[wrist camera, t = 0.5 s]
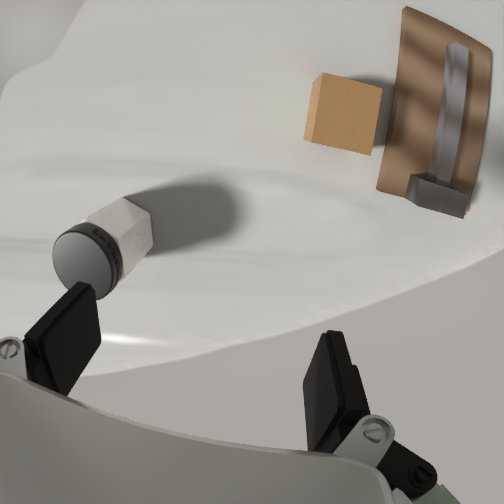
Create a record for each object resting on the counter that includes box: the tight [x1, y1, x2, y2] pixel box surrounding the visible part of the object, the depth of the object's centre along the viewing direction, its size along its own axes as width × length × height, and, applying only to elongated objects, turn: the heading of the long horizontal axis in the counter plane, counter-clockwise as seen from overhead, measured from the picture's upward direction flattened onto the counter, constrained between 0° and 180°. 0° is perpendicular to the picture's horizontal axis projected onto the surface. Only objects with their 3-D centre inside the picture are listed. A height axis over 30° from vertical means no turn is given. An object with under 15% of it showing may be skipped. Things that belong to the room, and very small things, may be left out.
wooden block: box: [304, 73, 382, 156], centre depth 29 cm, size 7×6×7 cm
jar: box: [53, 198, 153, 300], centre depth 33 cm, size 9×8×12 cm
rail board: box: [376, 6, 491, 219], centre depth 28 cm, size 25×14×6 cm, turn 172°
